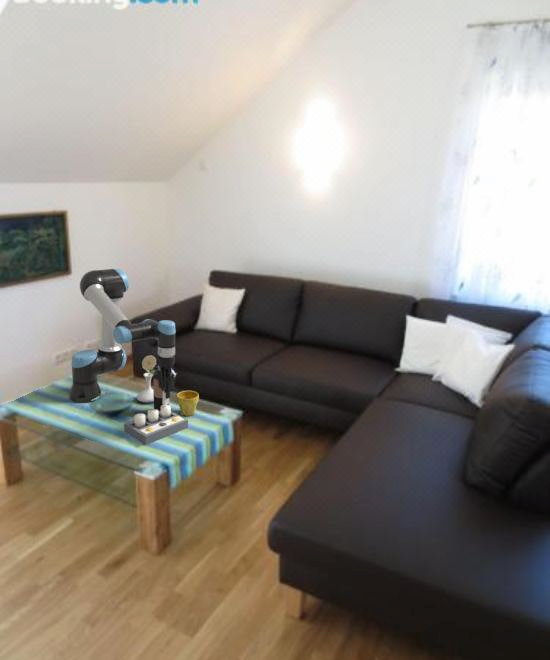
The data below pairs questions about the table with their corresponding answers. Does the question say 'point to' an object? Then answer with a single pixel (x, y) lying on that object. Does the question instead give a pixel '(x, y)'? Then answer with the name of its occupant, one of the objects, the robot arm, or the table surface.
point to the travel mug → (157, 394)
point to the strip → (162, 425)
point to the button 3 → (165, 411)
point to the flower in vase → (147, 379)
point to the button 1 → (139, 420)
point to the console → (155, 435)
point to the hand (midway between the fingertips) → (165, 403)
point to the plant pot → (187, 402)
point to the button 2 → (152, 416)
